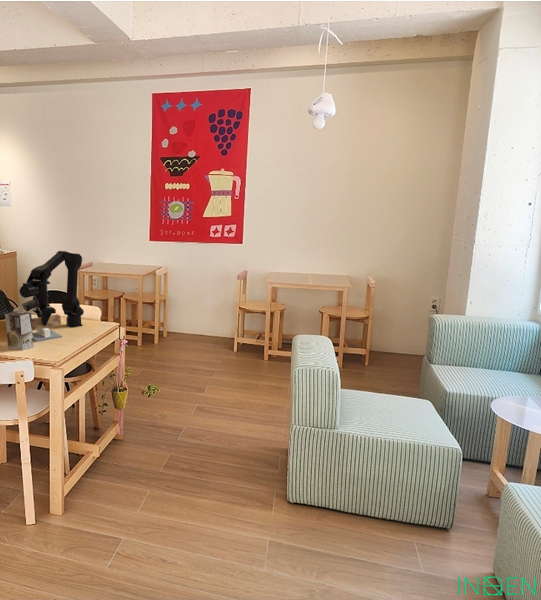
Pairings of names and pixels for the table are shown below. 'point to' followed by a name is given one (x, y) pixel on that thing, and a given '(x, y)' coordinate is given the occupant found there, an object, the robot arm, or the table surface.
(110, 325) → the table surface
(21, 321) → the coffee box
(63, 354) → the table surface
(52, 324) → the beam
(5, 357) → the table surface
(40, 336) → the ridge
